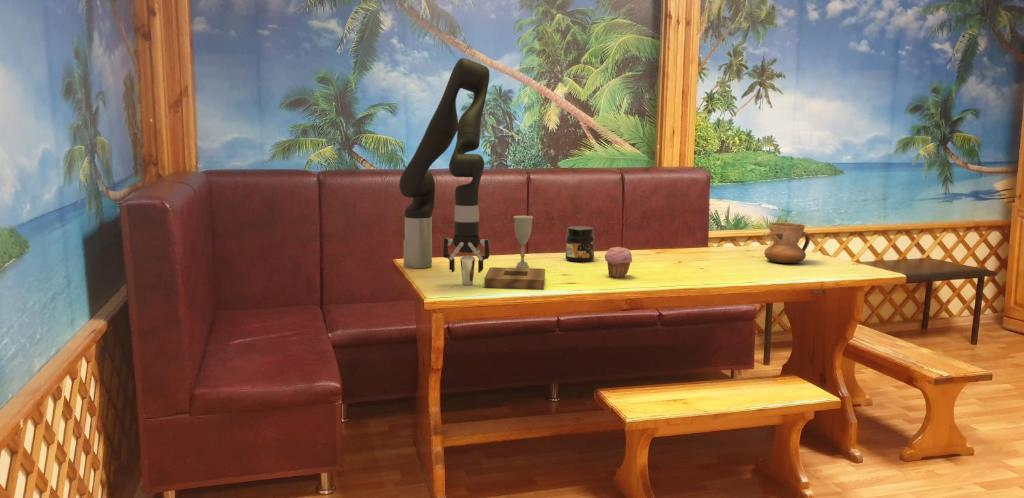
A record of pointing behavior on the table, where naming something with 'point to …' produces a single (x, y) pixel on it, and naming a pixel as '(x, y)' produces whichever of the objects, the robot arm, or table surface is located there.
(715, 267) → the table surface
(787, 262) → the ceramic jug
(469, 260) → the milkshake
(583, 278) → the table surface
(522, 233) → the chalice
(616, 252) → the cupcake
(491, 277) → the well block
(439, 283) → the table surface
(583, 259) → the supplement container
